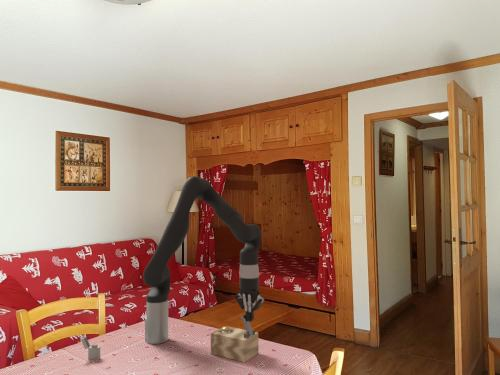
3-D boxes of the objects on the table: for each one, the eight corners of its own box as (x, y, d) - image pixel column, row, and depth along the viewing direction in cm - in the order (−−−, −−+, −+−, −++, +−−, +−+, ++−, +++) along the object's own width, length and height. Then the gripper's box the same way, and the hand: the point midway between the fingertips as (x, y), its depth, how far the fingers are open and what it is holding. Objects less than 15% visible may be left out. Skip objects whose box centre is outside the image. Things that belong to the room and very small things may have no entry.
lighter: (100, 357, 147) (100, 336, 148) (98, 359, 145) (98, 338, 146) (82, 357, 148) (83, 336, 148) (80, 359, 146) (80, 338, 146)
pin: (220, 352, 151) (220, 327, 152) (225, 349, 154) (225, 325, 154) (227, 353, 149) (227, 329, 150) (232, 350, 152) (232, 326, 153)
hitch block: (210, 353, 150) (210, 328, 150) (226, 345, 158) (225, 322, 159) (244, 362, 141) (244, 336, 141) (258, 353, 149) (258, 328, 150)
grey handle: (240, 316, 146) (243, 315, 146) (245, 314, 149) (248, 313, 149) (246, 337, 145) (249, 336, 144) (251, 334, 148) (254, 334, 147)
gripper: (268, 275, 146) (269, 321, 146) (240, 272, 154) (241, 315, 153) (258, 279, 140) (259, 326, 139) (229, 275, 147) (230, 320, 147)
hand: (249, 320), depth 146 cm, fingers closed
